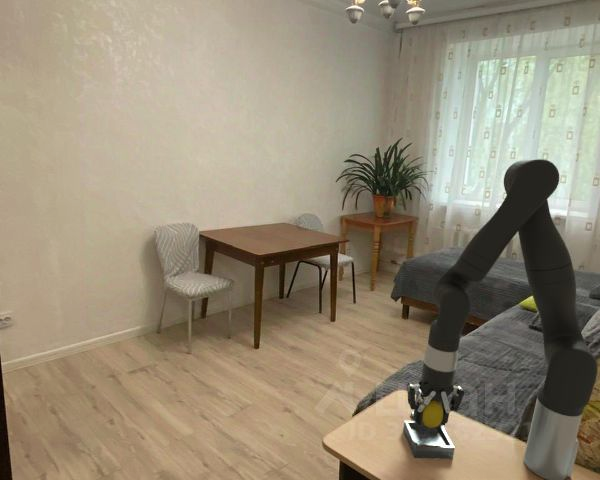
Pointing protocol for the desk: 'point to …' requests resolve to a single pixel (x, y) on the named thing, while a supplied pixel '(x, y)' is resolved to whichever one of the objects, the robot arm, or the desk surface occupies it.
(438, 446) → the square metal tray
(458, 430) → the desk surface
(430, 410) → the lemon
